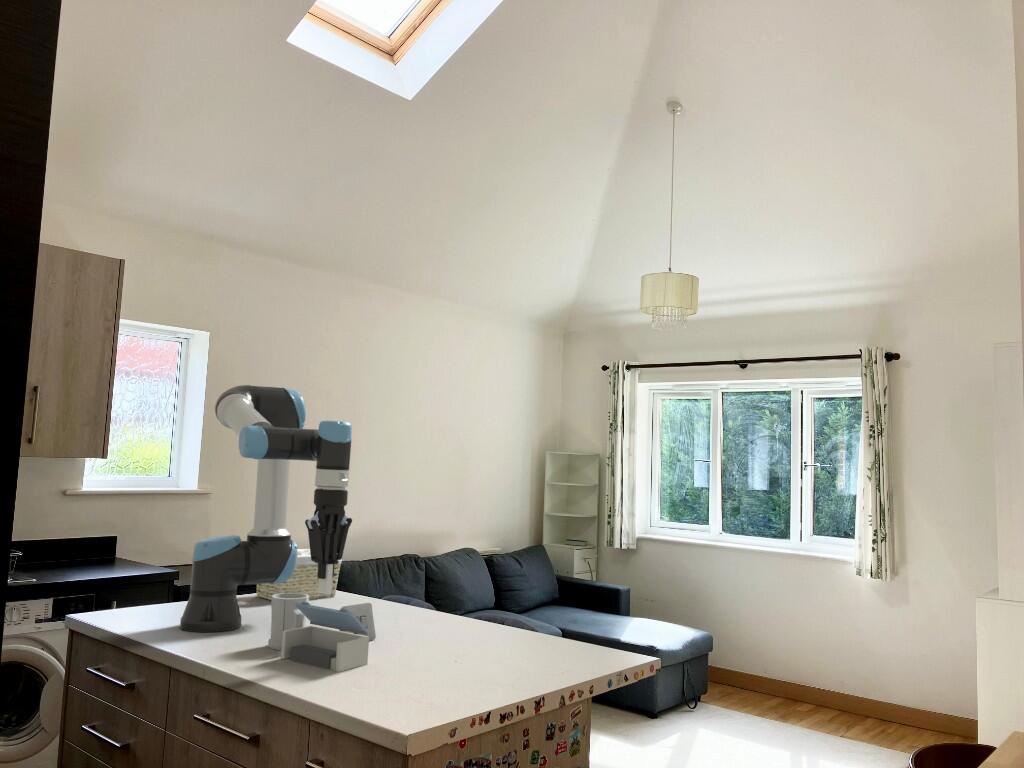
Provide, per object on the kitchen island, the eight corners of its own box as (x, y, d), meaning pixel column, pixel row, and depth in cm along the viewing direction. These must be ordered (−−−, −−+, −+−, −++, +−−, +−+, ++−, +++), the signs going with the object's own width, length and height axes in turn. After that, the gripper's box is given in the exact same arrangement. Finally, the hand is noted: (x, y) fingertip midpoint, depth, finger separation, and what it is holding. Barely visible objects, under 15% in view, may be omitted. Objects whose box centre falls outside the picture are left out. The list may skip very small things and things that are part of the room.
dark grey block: (289, 660, 180) (290, 647, 180) (303, 657, 183) (304, 644, 184) (333, 670, 173) (333, 656, 173) (346, 667, 176) (346, 653, 176)
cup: (318, 645, 195) (322, 595, 196) (297, 653, 186) (300, 600, 188) (282, 640, 198) (285, 591, 200) (259, 648, 190) (263, 596, 191)
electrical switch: (347, 645, 196) (347, 606, 198) (334, 644, 199) (334, 605, 201) (376, 640, 203) (376, 602, 205) (363, 639, 207) (362, 601, 208)
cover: (293, 606, 184) (297, 600, 185) (311, 624, 189) (314, 619, 190) (349, 616, 175) (353, 610, 176) (367, 635, 179) (370, 629, 180)
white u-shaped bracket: (280, 658, 181) (282, 631, 182) (310, 651, 189) (312, 625, 189) (338, 672, 172) (340, 643, 172) (367, 664, 179) (369, 636, 180)
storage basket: (314, 590, 275) (317, 547, 276) (342, 597, 264) (344, 552, 265) (250, 597, 257) (254, 550, 259) (277, 604, 247) (281, 556, 248)
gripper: (322, 489, 176) (315, 598, 173) (363, 488, 187) (356, 591, 185) (298, 487, 180) (291, 594, 177) (339, 487, 191) (332, 587, 188)
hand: (324, 592), depth 181 cm, fingers closed
